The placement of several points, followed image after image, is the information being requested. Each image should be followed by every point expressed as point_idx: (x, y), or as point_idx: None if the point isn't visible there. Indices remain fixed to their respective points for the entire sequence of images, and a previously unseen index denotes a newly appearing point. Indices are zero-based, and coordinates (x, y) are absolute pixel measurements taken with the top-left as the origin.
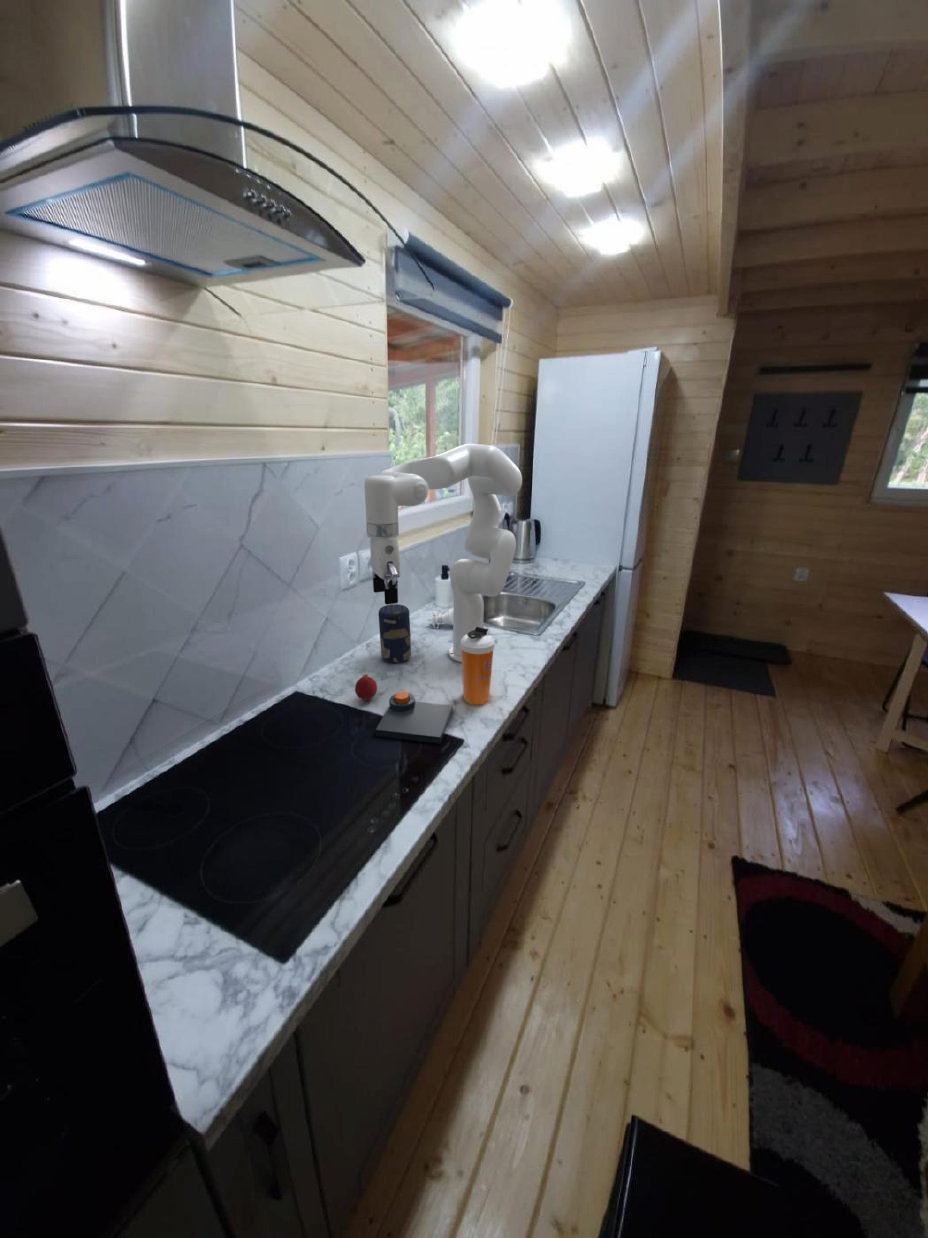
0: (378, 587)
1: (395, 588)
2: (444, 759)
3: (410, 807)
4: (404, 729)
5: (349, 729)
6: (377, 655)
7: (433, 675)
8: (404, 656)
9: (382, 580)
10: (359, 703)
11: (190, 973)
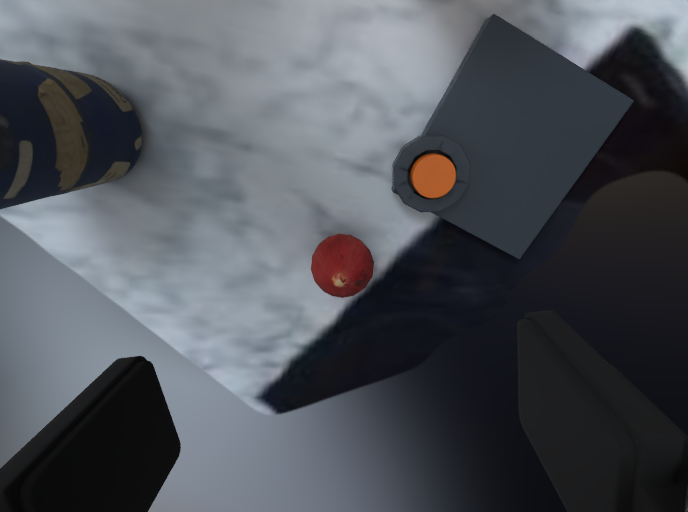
0: (145, 455)
1: (665, 456)
2: (684, 107)
3: None
4: (552, 190)
5: (459, 304)
6: None
7: (243, 23)
8: (126, 107)
9: (75, 484)
10: None
11: None
